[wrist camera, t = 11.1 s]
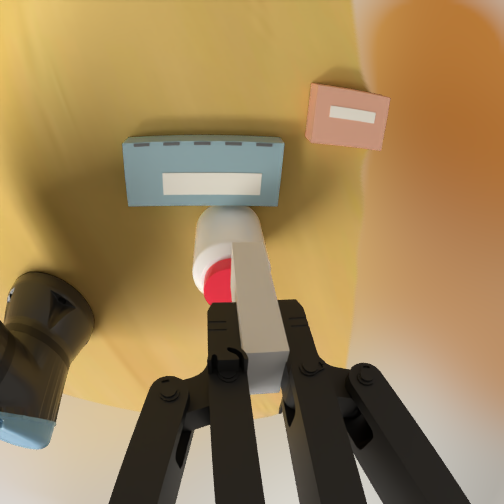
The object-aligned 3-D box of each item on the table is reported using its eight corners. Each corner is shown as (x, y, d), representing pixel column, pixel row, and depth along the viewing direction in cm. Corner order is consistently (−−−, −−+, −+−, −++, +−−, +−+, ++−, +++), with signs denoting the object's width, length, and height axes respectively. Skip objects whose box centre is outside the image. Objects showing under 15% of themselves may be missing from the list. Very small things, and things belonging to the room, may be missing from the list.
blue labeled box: (133, 196, 34) (128, 206, 32) (128, 137, 30) (122, 143, 28) (273, 196, 36) (277, 206, 34) (279, 137, 32) (284, 143, 30)
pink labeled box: (304, 136, 32) (311, 143, 30) (311, 82, 29) (318, 85, 27) (371, 144, 33) (381, 151, 31) (379, 94, 30) (390, 98, 28)
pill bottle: (183, 234, 38) (174, 297, 29) (223, 187, 35) (227, 241, 26) (232, 266, 41) (238, 331, 32) (274, 225, 39) (292, 285, 30)
